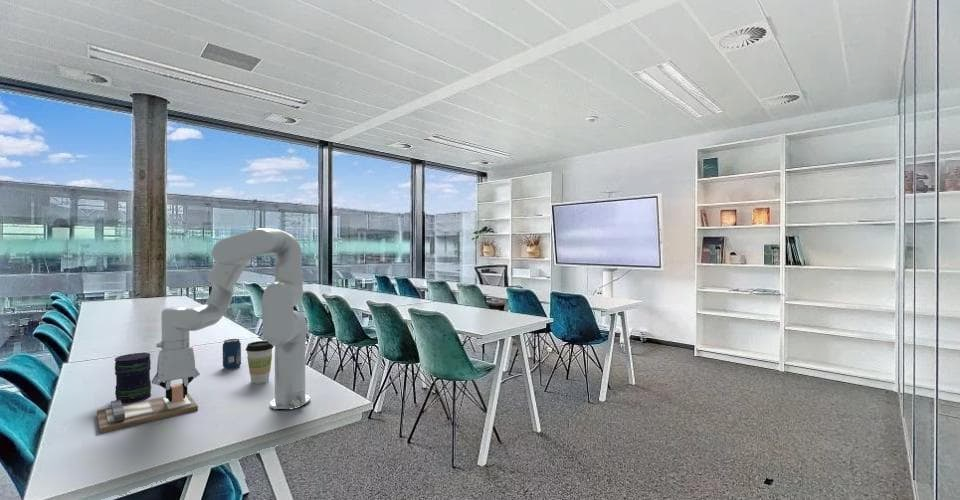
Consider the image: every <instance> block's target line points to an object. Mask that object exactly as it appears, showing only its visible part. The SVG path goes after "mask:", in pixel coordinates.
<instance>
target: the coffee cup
mask: <svg viewBox="0 0 960 500" xmlns="http://www.w3.org/2000/svg"><path fill="white" fill-rule="evenodd" d="M274 348H275V345H272V344H270V343H269V342H268V341H267V340H261V341H260V340H259V341H253V342H250V343H248V344H247V346H246V348H245V351H246V354H247V356H246V357H247V363H248V370H249V376H250V383H251V384H253V383H260V384H263V383H262V382H265V383H267V382H269V381H268V380H270V373H271V368H272V359H273V349H274ZM266 381H267V382H266Z"/></svg>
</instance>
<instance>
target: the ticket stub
mask: <svg viewBox="0 0 960 500" xmlns="http://www.w3.org/2000/svg"><path fill="white" fill-rule="evenodd" d="M170 387H171V389H172V401H170V402H169V400H168V399H166V397H165V398H163V400H164V402H165V404H166V405H167V407H168V409H172V408H177V407H181V406H186V405H190V404H191V402H190V401H189V400H188V398H187V397H186V396H185V398H184V399H183V385H182V383H175V384H170Z"/></svg>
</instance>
